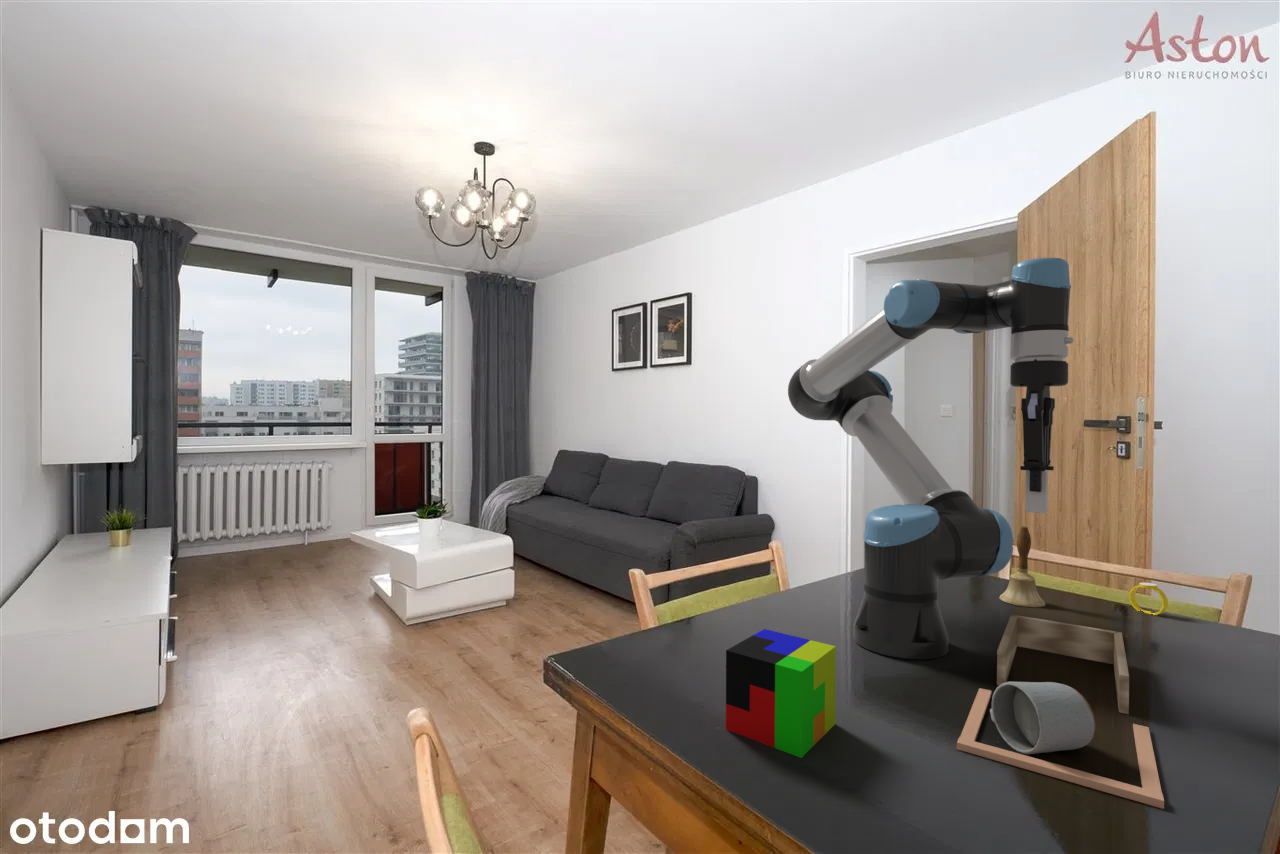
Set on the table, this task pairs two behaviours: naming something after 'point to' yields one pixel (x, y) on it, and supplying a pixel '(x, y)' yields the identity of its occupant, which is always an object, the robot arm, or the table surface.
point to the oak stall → (1065, 647)
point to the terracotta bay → (1145, 755)
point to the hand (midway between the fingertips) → (1036, 512)
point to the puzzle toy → (781, 690)
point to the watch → (1154, 587)
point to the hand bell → (1022, 577)
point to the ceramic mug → (1042, 717)
